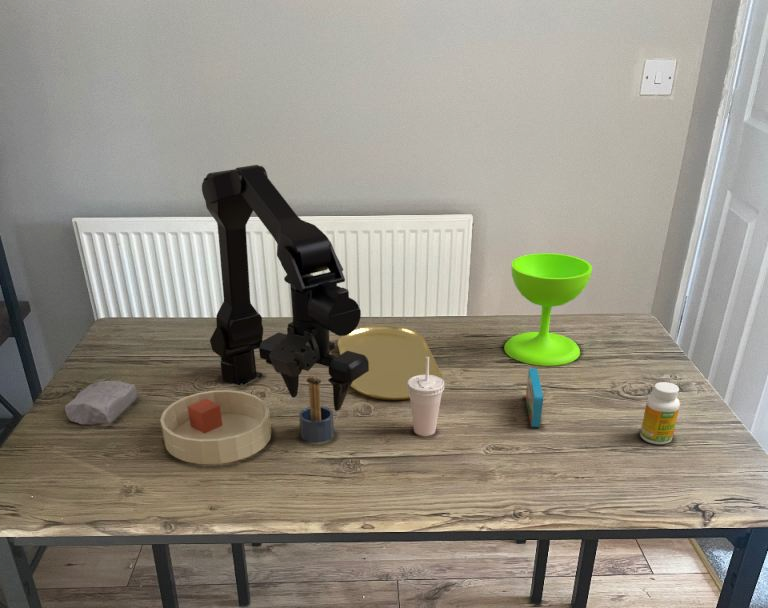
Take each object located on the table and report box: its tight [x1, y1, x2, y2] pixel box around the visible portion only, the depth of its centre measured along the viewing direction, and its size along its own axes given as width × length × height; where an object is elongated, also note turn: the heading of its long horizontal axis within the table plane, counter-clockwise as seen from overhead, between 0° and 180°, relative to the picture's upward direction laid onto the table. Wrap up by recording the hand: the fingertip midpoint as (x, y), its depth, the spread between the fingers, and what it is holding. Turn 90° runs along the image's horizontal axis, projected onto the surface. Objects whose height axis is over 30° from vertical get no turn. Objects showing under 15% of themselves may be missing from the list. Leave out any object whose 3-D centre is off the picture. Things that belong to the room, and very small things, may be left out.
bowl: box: [159, 389, 272, 465], centre depth 138 cm, size 18×18×5 cm
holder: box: [298, 406, 335, 444], centre depth 139 cm, size 6×6×4 cm
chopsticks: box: [306, 375, 322, 421], centre depth 137 cm, size 1×2×11 cm, turn 57°
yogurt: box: [525, 368, 544, 428], centre depth 146 cm, size 12×2×6 cm, turn 176°
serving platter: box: [337, 324, 442, 401], centre depth 164 cm, size 19×35×2 cm, turn 9°
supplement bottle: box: [639, 381, 681, 445], centre depth 137 cm, size 5×5×10 cm
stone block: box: [64, 380, 138, 426], centre depth 148 cm, size 12×5×10 cm
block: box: [188, 399, 222, 434], centre depth 141 cm, size 4×4×4 cm
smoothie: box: [407, 357, 445, 437], centre depth 138 cm, size 6×6×14 cm
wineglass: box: [503, 252, 593, 367], centre depth 165 cm, size 16×16×18 cm
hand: (315, 403), depth 137 cm, fingers open, 9 cm apart
